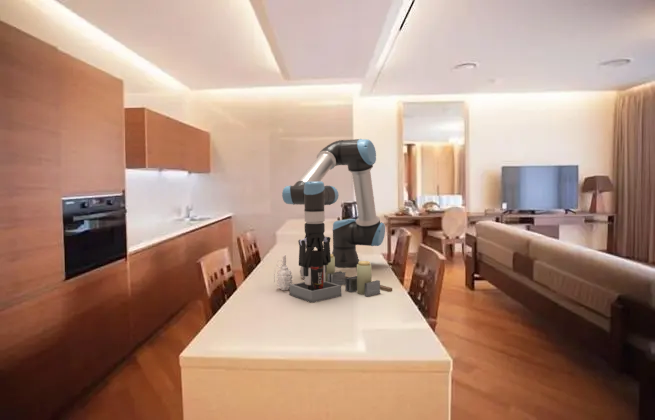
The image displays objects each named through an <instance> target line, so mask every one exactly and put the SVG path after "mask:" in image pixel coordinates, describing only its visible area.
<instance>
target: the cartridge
mask: <svg viewBox="0 0 655 420" xmlns="http://www.w3.org/2000/svg"><path fill="white" fill-rule="evenodd" d="M330 256H331V262H330V263H329V264H328V265H326V268H327V272H326V273H325V281H327V282H328V273H334V272H336V267H335V257H334V256H333V254H332V253H330Z"/></svg>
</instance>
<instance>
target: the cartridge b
mask: <svg viewBox="0 0 655 420" xmlns="http://www.w3.org/2000/svg"><path fill="white" fill-rule="evenodd" d="M356 276H357V291H356V293H357V294H359V295H364V296H365V283H367V282H372V264H371V261H368V260H359V262H358V264H357V266H356Z"/></svg>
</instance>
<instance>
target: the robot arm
mask: <svg viewBox="0 0 655 420" xmlns="http://www.w3.org/2000/svg"><path fill="white" fill-rule="evenodd" d="M376 151H377V150H376V147H375V145H374V143H373V142H372V141H371V140H370V139H366V138H363V139H362V138H358V139H357V138H356V139H343V140H342V139H339V140H336V141H333V142H331V143H329V144H328V145H326V146H325V147H323V148H322V149H321V150H320V151H319V152H318V154H317V155H316V158H315V160H314V161H313V163H311V165H310V166H309V167H308V168H307V169H306V171H305V172H304V173H303V174H302V175H301V176H300V177H299V178H298V180H297V181H296V182H295V183H294V185H287V186H284V188H283V190H282V192H281V193H282V195H281V196H282V201H283V202H284V203H285V204H287V205H293V206H294V205H296V206H297V205H303V206H304V210H303V211H304V222H305V223H304V233H305V234H304V235H305V236H304V238H303V239H299V240H298V241H297V242H298V246H299V251H298V266H299V267H301V266H302V267H303V275H304V276H305V280H304V282H305V284H307V285H311V268H310V267H309V264H310V260H311V253H312V252H313V250H315V248H316V250H317V251H323V282H325V273H326V272H327V268H326V265H328V264H329V263H330V262H331V256H330V254H333V256H334V257H335V268H336V267H337V268H352V267H357V264H358V262H359V261H360V259H359V256H358V252H357V250H356V248H357V246H368V247H378V246H380V245H382V244H383V242H384V238H385V235H386V225H385V222H381V220H380V217H379V216H378V215H377V212H376V203H375V196H374V190H373V183H372V182H373V180H372V174H371V171H372V169H373V167H374V164H375V163H376V161H377V152H376ZM337 166H347V170H348V171H349V172H350V173H351V177H352V182H353V188H354V194H355V195H354V196H355V203H356V209H357V214H358V215H357V217H358V218H357V219H355V218H347V219H339V220H334V222H333V224H332V252H331V243H330V242H331V237H330V236H325V234H324V233H325V231H326V230H325V227H326V226H325V223H324V222H325V219H326V218H325V217H326V216H325V206H330V205H332V204H333V205H334V204H335V203H336V202H337V201H338V199H339V192H338V189H337V188H336V187H335V186H332V185H325V183H324V182H323V181H322V180H323V179H324V177H325V176H326V175H327V174H328V172H329V171H330V170H332V169H334V168H335V167H337ZM306 243H307V246H306Z"/></svg>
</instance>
